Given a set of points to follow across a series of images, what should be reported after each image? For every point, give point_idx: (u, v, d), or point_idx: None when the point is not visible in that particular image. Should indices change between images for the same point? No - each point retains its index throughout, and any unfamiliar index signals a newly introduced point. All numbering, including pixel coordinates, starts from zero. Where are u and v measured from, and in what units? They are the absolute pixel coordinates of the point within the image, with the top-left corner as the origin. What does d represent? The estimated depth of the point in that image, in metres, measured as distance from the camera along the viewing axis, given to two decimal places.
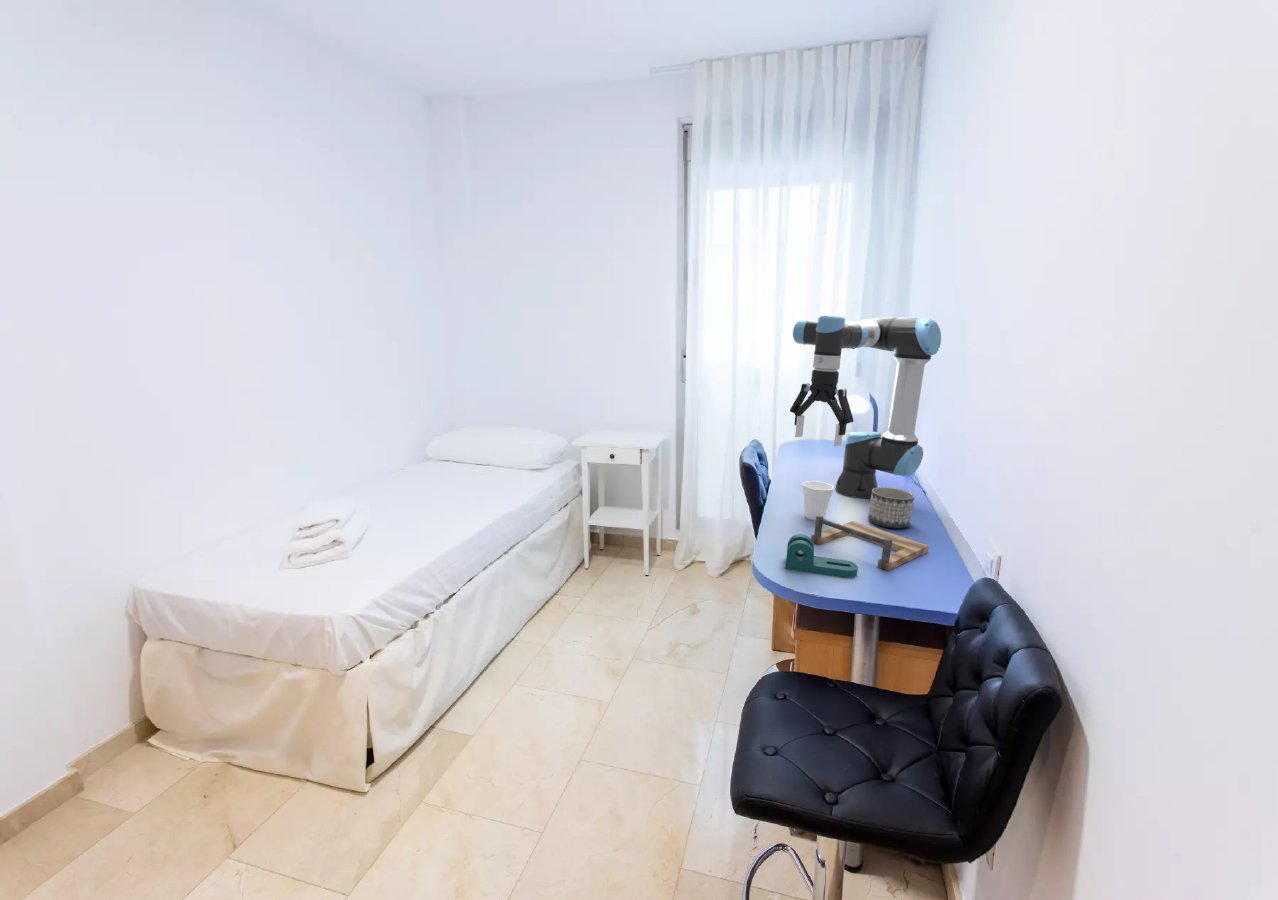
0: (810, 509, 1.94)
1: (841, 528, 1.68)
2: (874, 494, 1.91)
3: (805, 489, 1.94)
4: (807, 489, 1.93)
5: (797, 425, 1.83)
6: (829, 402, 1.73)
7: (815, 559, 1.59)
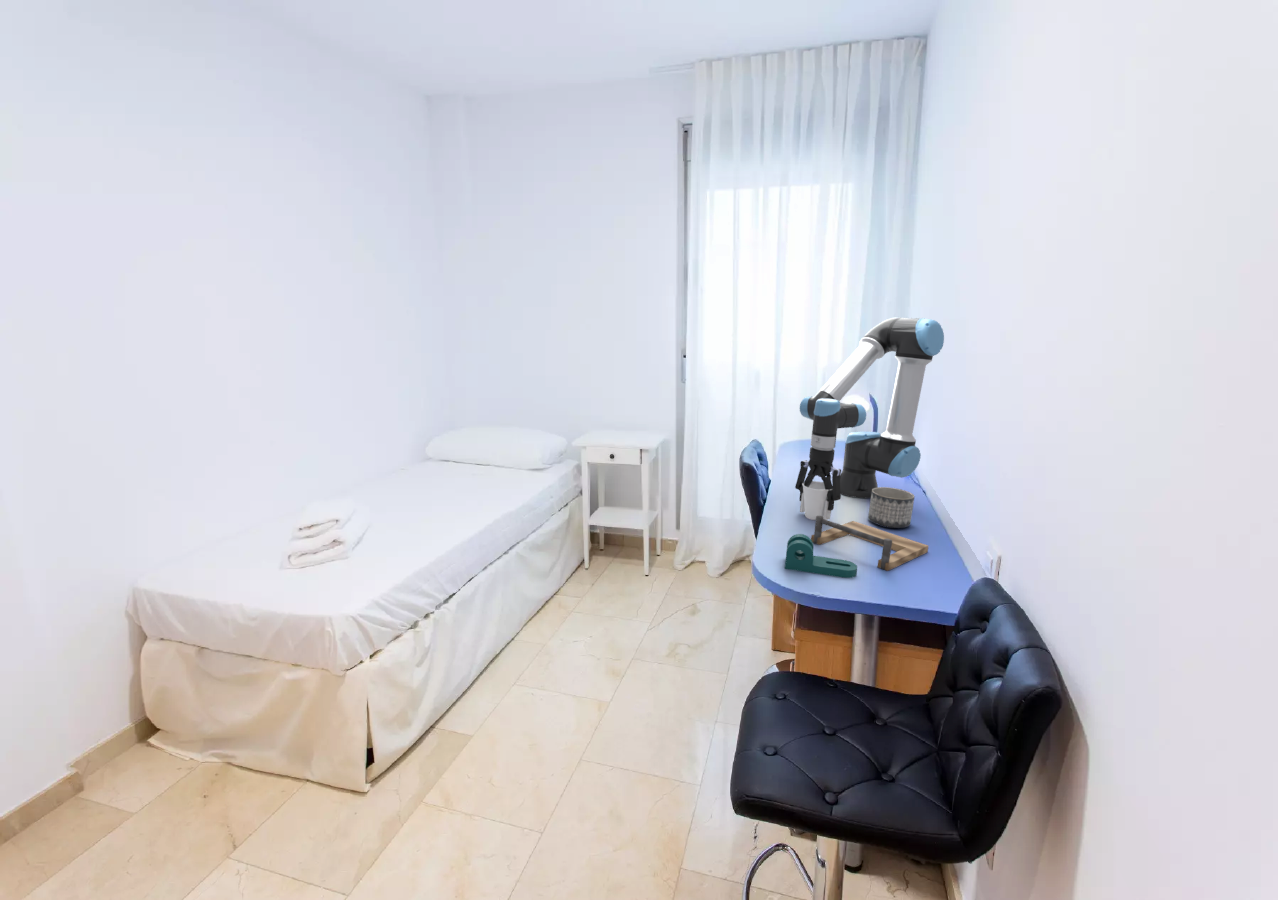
0: (810, 509, 1.94)
1: (841, 528, 1.68)
2: (874, 494, 1.91)
3: (805, 489, 1.94)
4: (807, 489, 1.93)
5: (802, 501, 1.99)
6: (823, 479, 1.91)
7: (815, 559, 1.59)
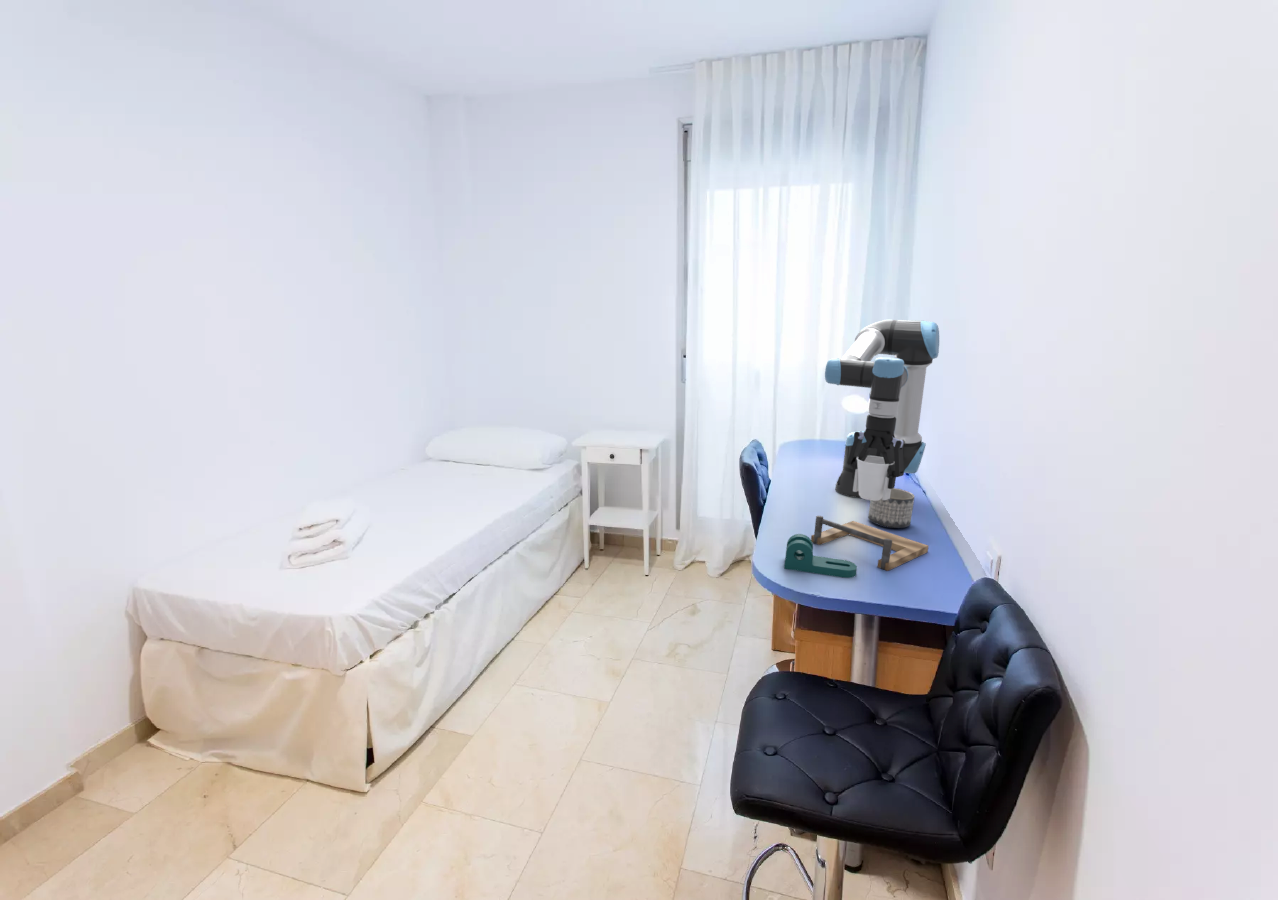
0: (867, 487, 1.66)
1: (841, 528, 1.68)
2: None
3: (860, 464, 1.66)
4: (863, 464, 1.65)
5: (855, 479, 1.71)
6: (883, 452, 1.63)
7: (814, 559, 1.59)
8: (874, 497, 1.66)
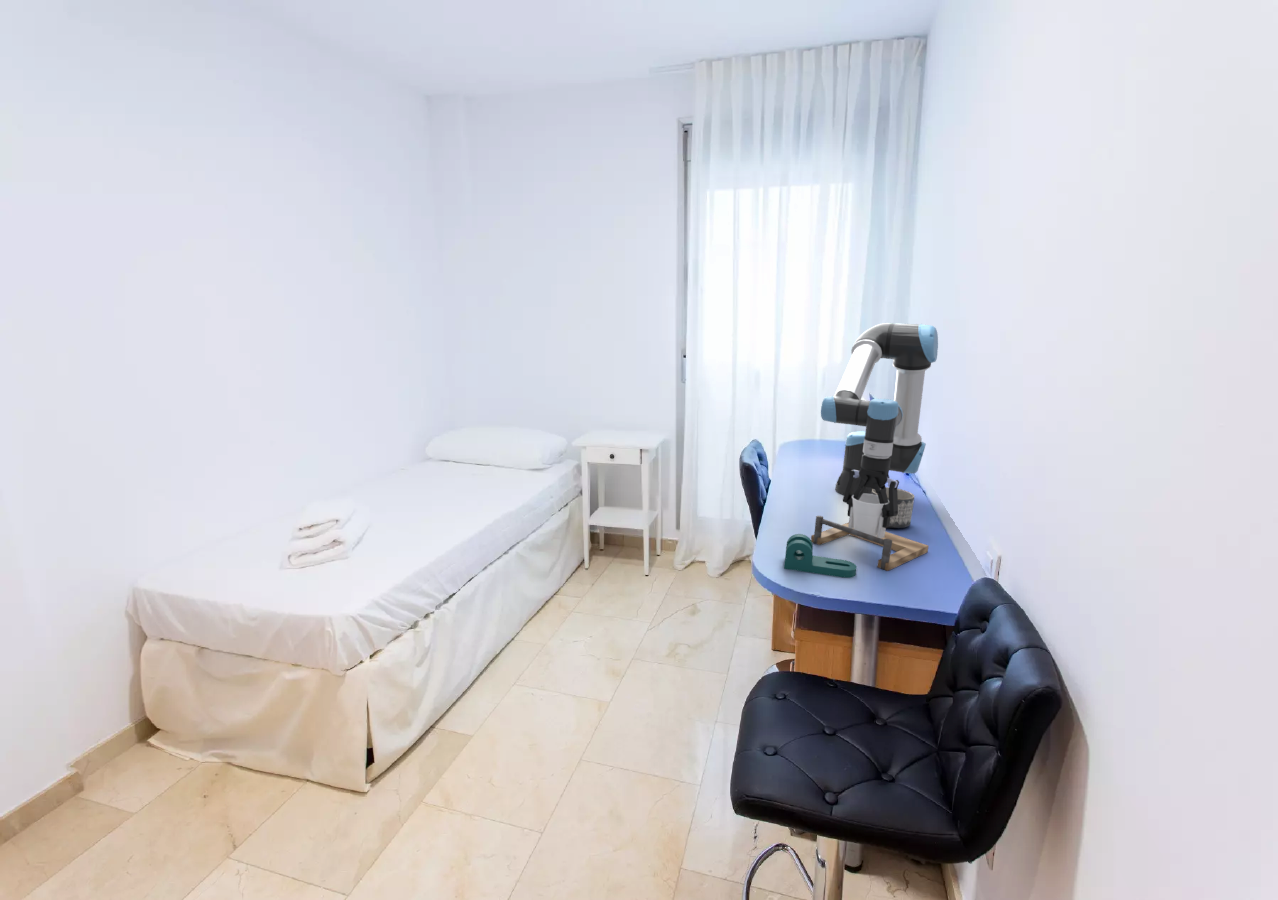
0: (862, 526, 1.69)
1: (841, 528, 1.68)
2: (874, 494, 1.91)
3: (856, 503, 1.68)
4: (858, 503, 1.67)
5: (851, 517, 1.73)
6: (878, 491, 1.66)
7: (814, 559, 1.59)
8: None
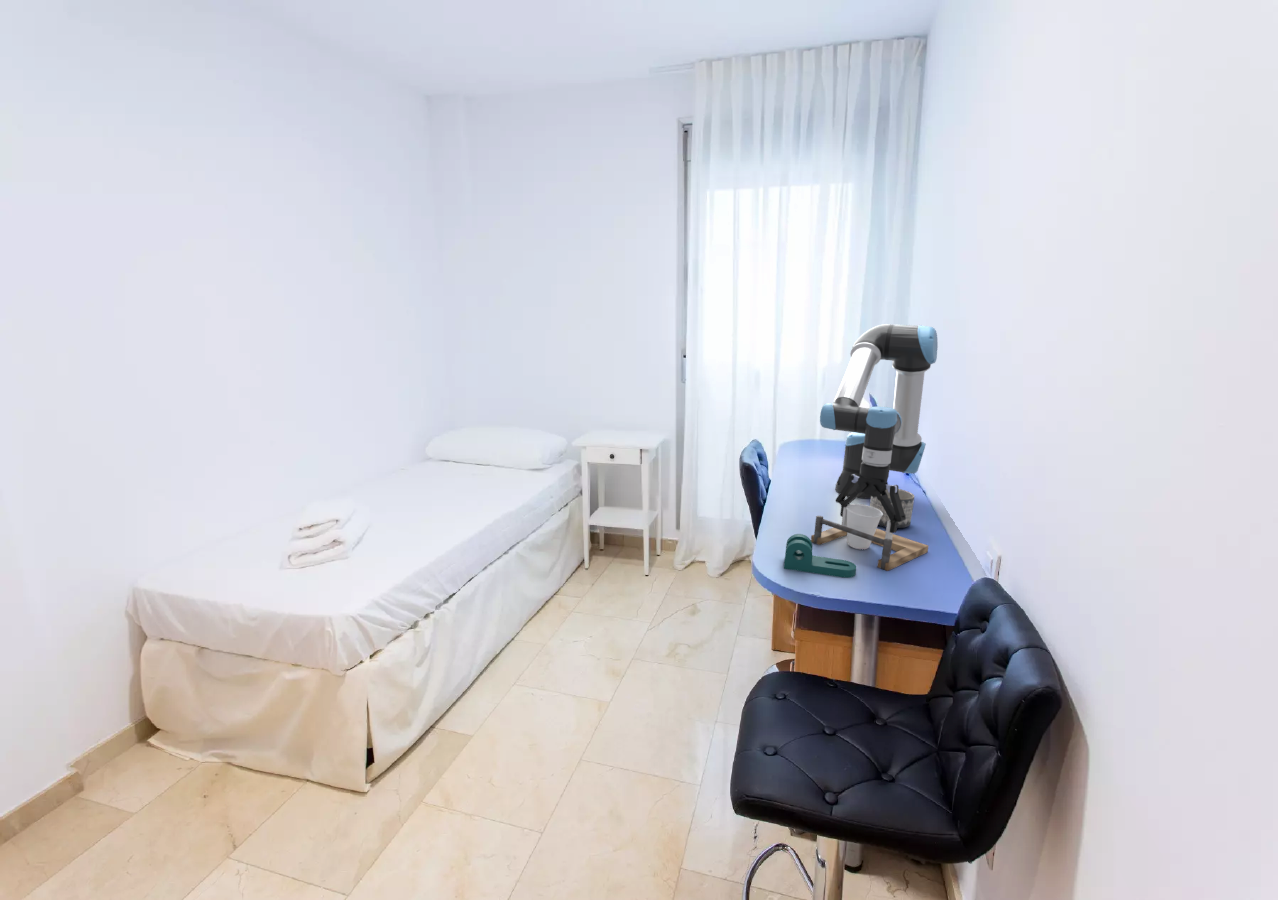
0: (855, 537, 1.71)
1: (841, 528, 1.68)
2: None
3: (850, 514, 1.71)
4: (853, 515, 1.69)
5: (843, 517, 1.75)
6: (879, 498, 1.65)
7: (814, 559, 1.59)
8: (862, 546, 1.71)
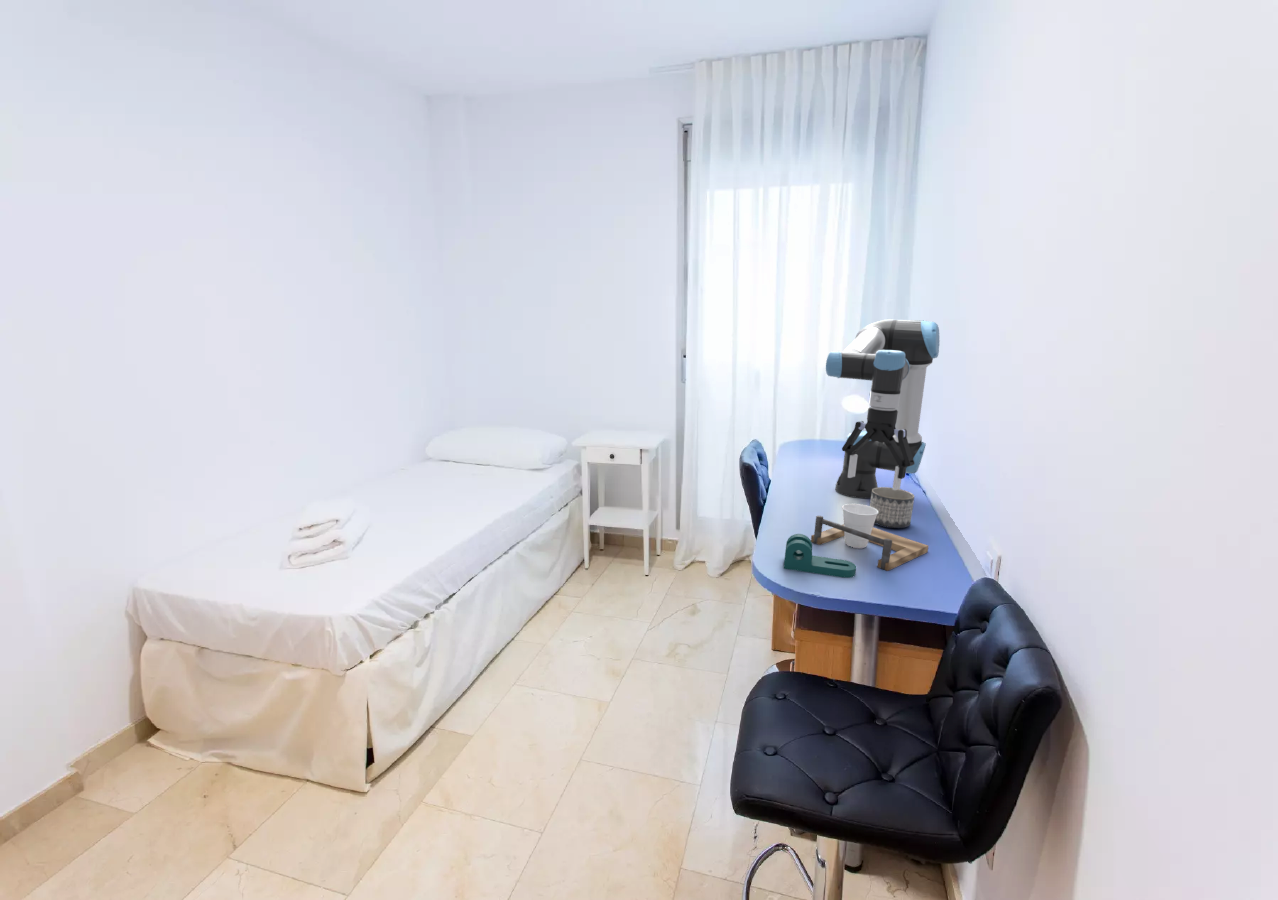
0: (852, 536, 1.72)
1: (841, 528, 1.68)
2: (874, 494, 1.91)
3: (846, 513, 1.72)
4: (848, 514, 1.71)
5: (850, 465, 1.72)
6: (887, 443, 1.62)
7: (813, 559, 1.59)
8: (859, 545, 1.72)
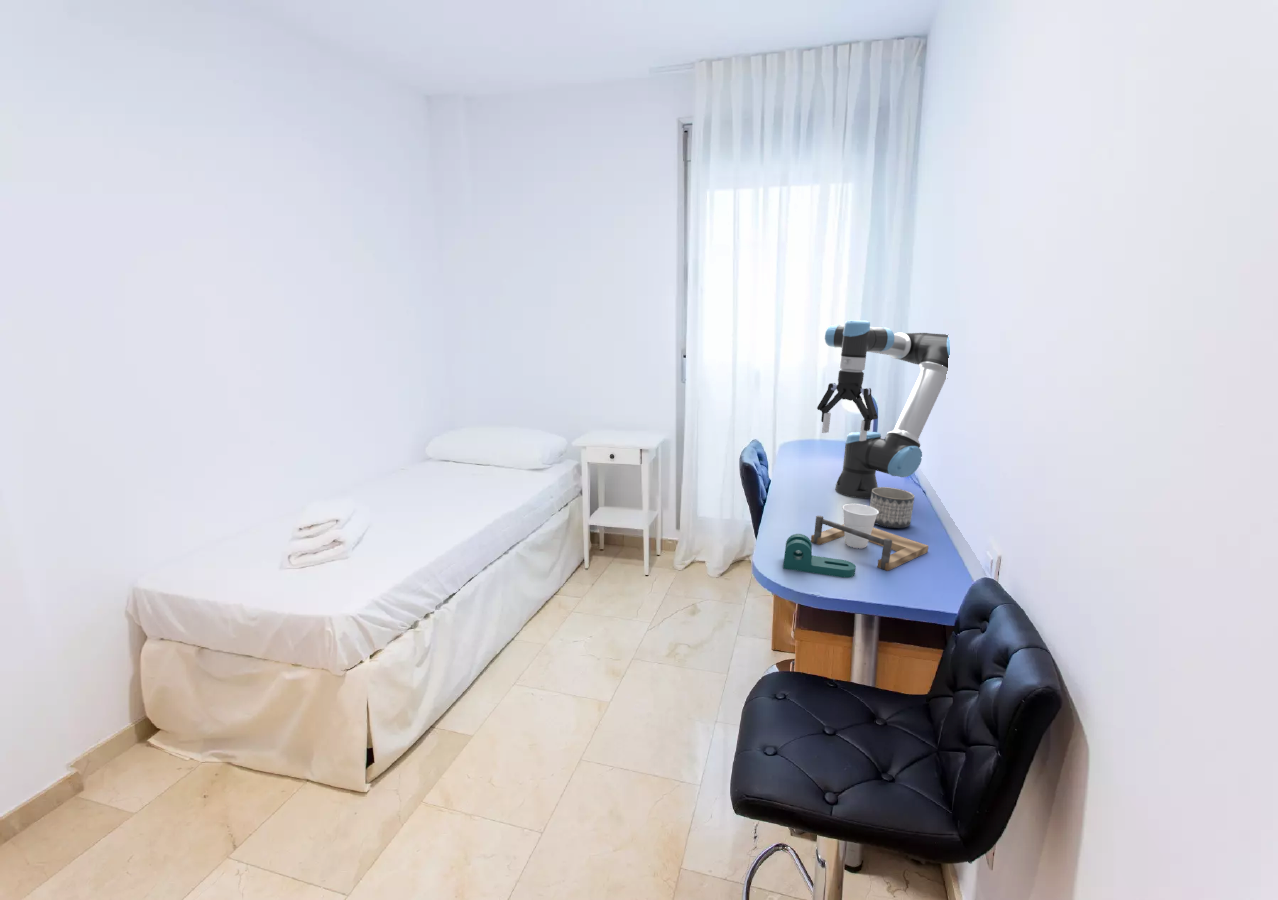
0: (852, 536, 1.72)
1: (841, 528, 1.68)
2: (874, 494, 1.91)
3: (846, 513, 1.72)
4: (849, 514, 1.71)
5: (824, 422, 1.98)
6: (855, 400, 1.88)
7: (813, 558, 1.59)
8: (859, 545, 1.72)
